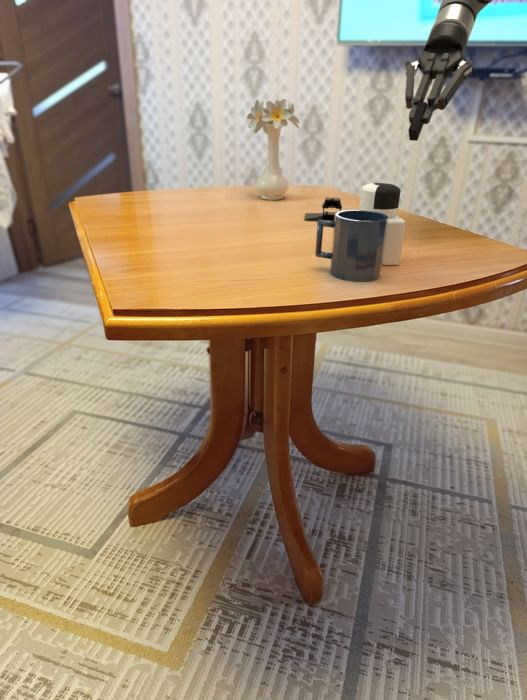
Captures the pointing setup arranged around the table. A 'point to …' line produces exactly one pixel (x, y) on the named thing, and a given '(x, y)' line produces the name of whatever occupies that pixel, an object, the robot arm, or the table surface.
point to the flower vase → (272, 145)
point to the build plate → (326, 215)
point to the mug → (355, 244)
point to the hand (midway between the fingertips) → (413, 135)
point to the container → (387, 203)
